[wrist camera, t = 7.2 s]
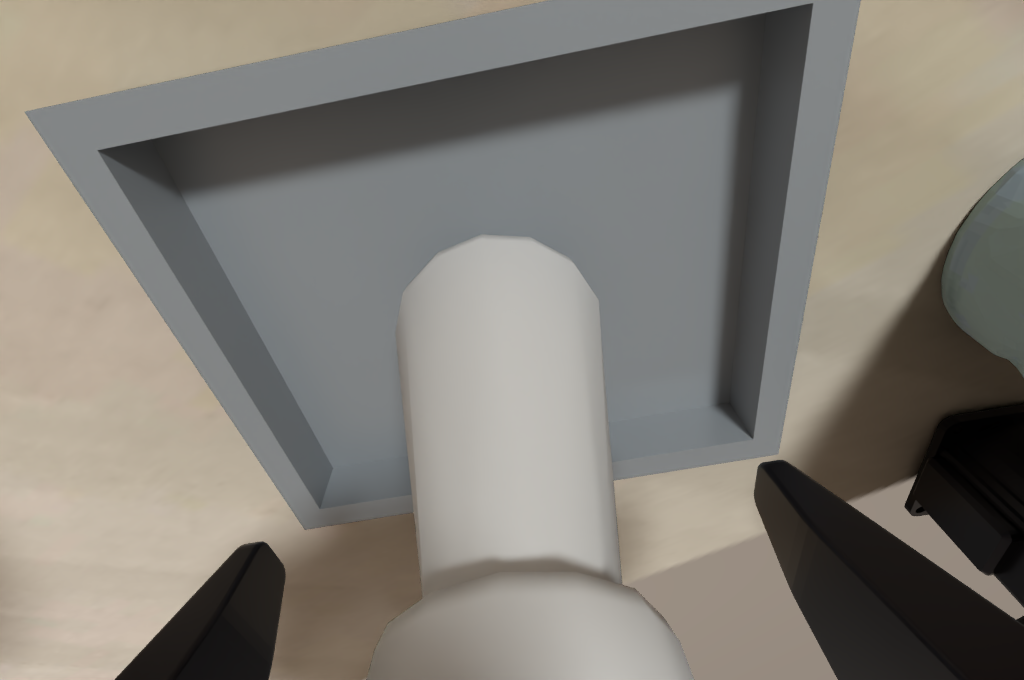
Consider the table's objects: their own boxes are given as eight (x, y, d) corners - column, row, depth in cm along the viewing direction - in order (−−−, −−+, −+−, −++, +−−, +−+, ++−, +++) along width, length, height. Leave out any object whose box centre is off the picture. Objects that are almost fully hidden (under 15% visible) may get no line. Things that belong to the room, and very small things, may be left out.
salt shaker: (502, 393, 18) (537, 944, 7) (371, 304, 16) (139, 919, 5) (622, 286, 16) (922, 845, 5) (490, 165, 14) (535, 719, 3)
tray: (792, -52, 12) (873, -68, 10) (742, 400, 20) (778, 454, 18) (111, 93, 13) (24, 111, 11) (325, 469, 21) (304, 529, 19)
